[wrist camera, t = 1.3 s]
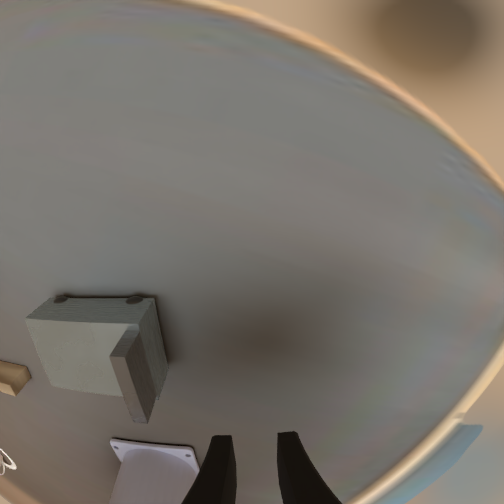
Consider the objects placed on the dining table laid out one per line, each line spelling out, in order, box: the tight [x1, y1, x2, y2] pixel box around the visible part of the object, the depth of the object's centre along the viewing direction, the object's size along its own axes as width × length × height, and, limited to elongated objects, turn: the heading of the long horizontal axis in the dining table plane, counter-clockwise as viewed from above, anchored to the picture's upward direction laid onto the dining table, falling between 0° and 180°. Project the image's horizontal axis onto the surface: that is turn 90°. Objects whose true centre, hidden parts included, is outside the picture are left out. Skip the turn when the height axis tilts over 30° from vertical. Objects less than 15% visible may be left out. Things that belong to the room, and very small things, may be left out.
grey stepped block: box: [25, 296, 169, 424], centre depth 15 cm, size 8×6×6 cm
